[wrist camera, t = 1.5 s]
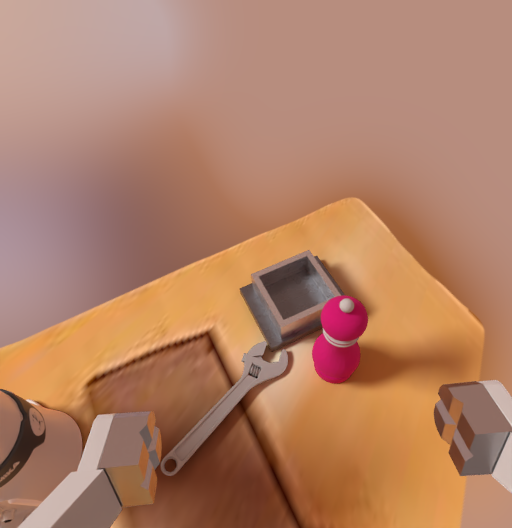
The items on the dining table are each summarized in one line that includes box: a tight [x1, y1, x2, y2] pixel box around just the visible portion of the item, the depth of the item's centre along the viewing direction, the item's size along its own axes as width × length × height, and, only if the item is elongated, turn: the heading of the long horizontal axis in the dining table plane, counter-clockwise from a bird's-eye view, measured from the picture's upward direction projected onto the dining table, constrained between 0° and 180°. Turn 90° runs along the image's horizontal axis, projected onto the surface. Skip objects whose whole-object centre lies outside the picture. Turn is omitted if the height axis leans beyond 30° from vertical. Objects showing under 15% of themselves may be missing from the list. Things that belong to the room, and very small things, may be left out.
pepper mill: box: [312, 295, 368, 383], centre depth 57 cm, size 7×7×20 cm
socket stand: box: [240, 250, 345, 352], centre depth 70 cm, size 16×13×6 cm
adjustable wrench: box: [161, 341, 288, 476], centre depth 62 cm, size 25×6×2 cm, turn 134°
